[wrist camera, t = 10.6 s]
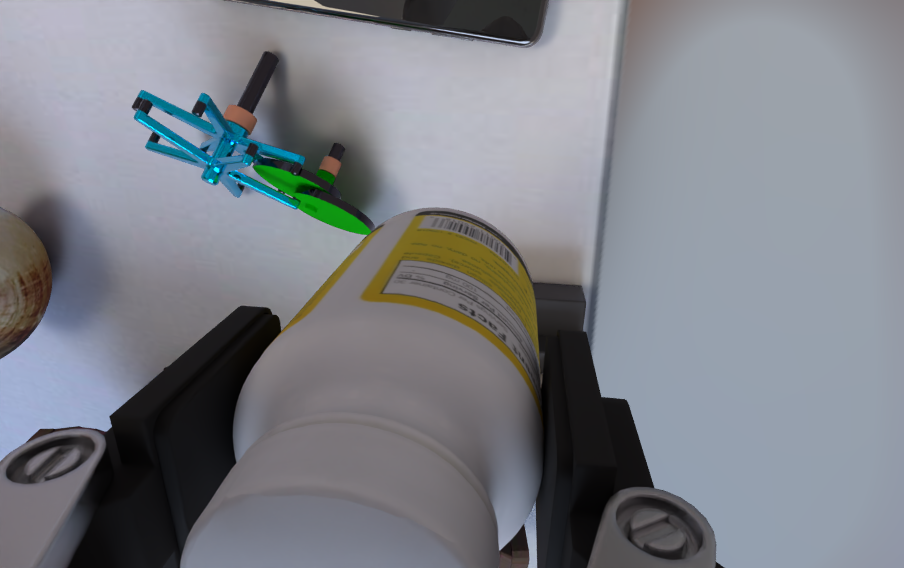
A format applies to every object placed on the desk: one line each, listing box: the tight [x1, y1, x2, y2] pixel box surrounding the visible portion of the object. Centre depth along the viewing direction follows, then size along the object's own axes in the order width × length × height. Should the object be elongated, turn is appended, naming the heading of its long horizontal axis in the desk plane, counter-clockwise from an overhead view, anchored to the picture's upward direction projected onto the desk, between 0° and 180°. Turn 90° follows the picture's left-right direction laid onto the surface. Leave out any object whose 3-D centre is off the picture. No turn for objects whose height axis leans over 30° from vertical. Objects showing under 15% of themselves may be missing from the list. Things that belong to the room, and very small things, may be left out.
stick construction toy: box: [132, 51, 375, 235], centre depth 26 cm, size 12×7×8 cm
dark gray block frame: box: [533, 283, 586, 374], centre depth 30 cm, size 10×6×4 cm, turn 179°
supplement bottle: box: [180, 208, 544, 568], centre depth 11 cm, size 5×5×10 cm
